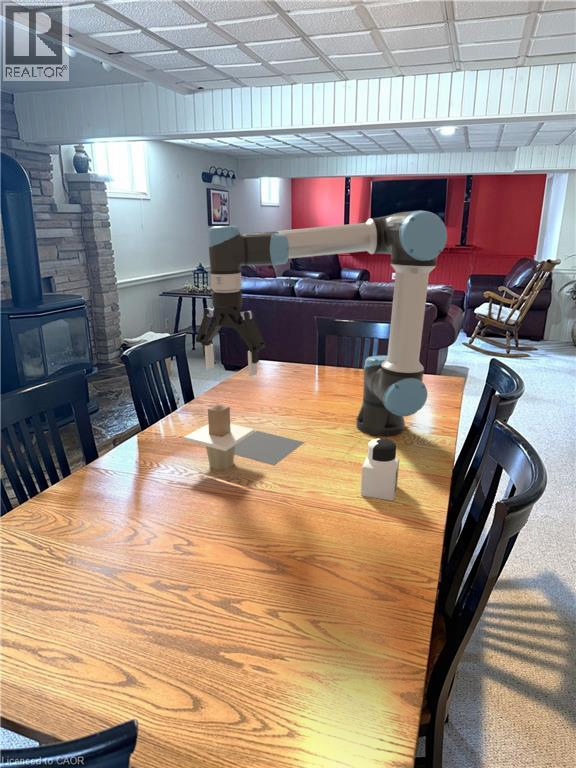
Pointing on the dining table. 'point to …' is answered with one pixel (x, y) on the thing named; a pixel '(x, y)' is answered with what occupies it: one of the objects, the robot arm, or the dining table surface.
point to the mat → (266, 447)
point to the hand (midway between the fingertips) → (231, 371)
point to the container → (380, 470)
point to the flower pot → (220, 458)
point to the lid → (219, 430)
